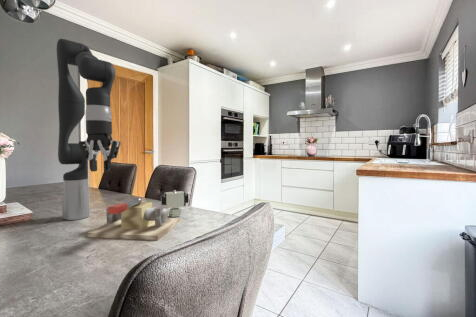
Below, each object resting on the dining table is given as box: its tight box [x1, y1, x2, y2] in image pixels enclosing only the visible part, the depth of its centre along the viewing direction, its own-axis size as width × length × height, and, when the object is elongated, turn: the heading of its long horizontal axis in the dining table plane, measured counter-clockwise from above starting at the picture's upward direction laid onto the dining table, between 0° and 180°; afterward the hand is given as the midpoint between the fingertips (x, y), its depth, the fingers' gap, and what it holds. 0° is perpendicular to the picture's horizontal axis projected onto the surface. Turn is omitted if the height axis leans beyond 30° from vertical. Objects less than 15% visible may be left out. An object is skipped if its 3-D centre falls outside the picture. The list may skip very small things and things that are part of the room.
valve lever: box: [107, 197, 142, 214], centre depth 83 cm, size 16×3×2 cm, turn 173°
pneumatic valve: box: [160, 189, 190, 218], centre depth 107 cm, size 6×12×12 cm, turn 111°
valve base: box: [87, 201, 181, 241], centre depth 91 cm, size 26×20×10 cm
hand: (100, 171), depth 80 cm, fingers open, 4 cm apart
